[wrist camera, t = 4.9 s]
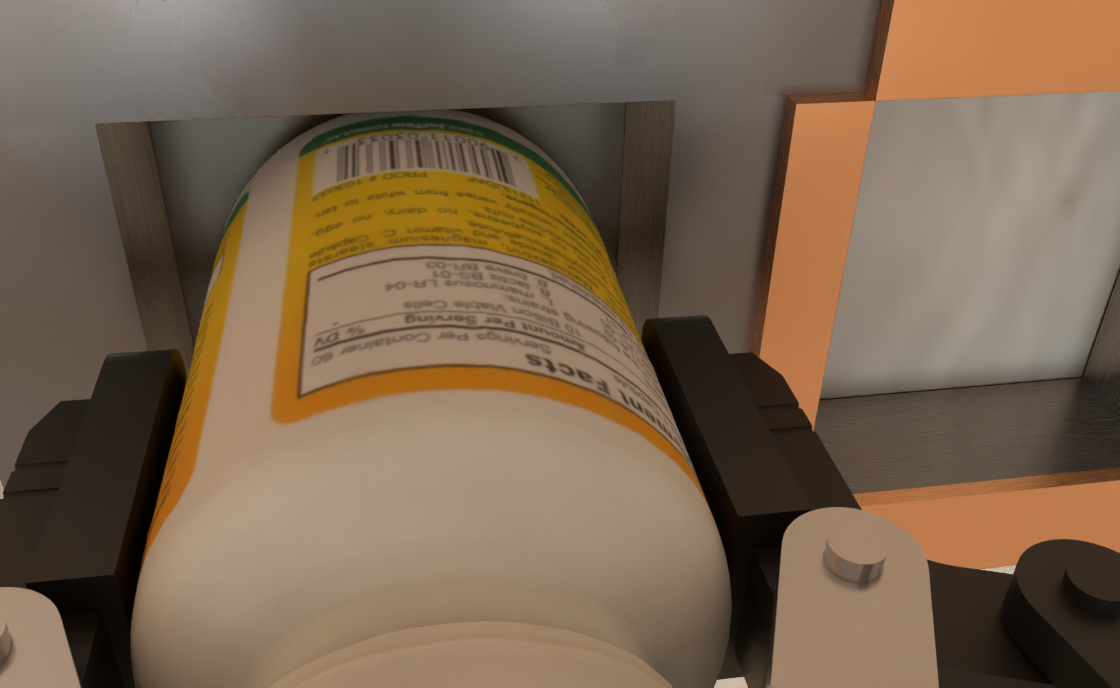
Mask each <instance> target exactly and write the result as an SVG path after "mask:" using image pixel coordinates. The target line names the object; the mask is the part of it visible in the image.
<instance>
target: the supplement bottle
mask: <svg viewBox="0 0 1120 688" xmlns="http://www.w3.org/2000/svg"><path fill="white" fill-rule="evenodd" d="M731 612H732V600H731V586H730V576H729V570H728V565H727V560H726V555H725V551H724V548H723V545H722V541H721V538H720V534H719V531H718V528H717V525H716V523H715V520H714V518H713V515H712V513H711V510H710V508H709V505H708V502H707V500H706V498H705V495H704V493H703V490H702V488H701V485H700V483H699V480H698V478H697V475H696V473H695V470H694V468H693V465H692V463H691V460H690V458H689V455H688V453H687V450H686V447H685V445H684V442H683V439H682V437H681V435H680V433H679V430H678V428H677V426H676V423H675V420H674V418H673V415H672V413H671V410H670V408H669V406H668V403H667V401H666V398H665V396H664V393H663V391H662V389H661V386H660V384H659V381H658V378H657V376H656V373H655V371H654V368H653V366H652V364H651V362H650V360H649V358H648V356H647V354H646V351H645V349H644V346H643V344H642V341H641V339H640V336H639V333H638V331H637V328H636V325H635V323H634V321H633V318H632V316H631V313H630V310H629V308H628V305H627V303H626V300H625V298H624V295H623V293H622V291H621V288H620V286H619V283H618V280H617V277H616V275H615V272H614V270H613V267H612V265H611V263H610V260H609V257H608V254H607V251H606V249H605V246H604V243H603V240H602V238H601V235H600V233H599V231H598V228H597V226H596V224H595V222H594V220H593V218H592V216H591V213H590V211H589V209H588V207H587V206H586V204H585V202H584V200H583V198H582V196H581V195H580V193H579V192H578V190H577V188H576V187H575V185H574V184H573V183H572V181H571V180H570V179H569V178H568V176H567V175H566V174H565V173H564V172H563V171H562V169H561V168H560V167H559V166H558V165H557V164H556V163H555V162H554V161H553V160H552V159H551V158H550V157H549V156H548V155H547V154H546V153H545V152H543V151H542V150H541V149H540V148H539V147H537V146H536V145H535V144H534V143H532V142H531V141H529V140H528V139H526V138H525V137H523V136H522V135H520V134H518V133H516V132H515V131H513V130H511V129H509V128H507V127H505V126H503V125H501V124H498V123H496V122H494V121H492V120H490V119H488V118H485V117H482V116H478V115H475V114H472V113H469V112H466V111H462V110H457V109H444V110H419V111H394V112H369V113H347V114H344V115H341V116H339V117H336V118H334V119H331V120H329V121H326V122H324V123H322V124H320V125H317V126H315V127H313V128H312V129H310V130H308V131H306V132H304V133H303V134H301V135H299V136H297V137H296V138H294V139H293V140H292V141H290V142H289V143H287V144H286V145H285V146H283V147H282V148H280V149H279V150H278V151H277V152H276V153H275V154H274V155H272V156H271V157H270V158H269V159H268V160H267V161H266V162H265V163H264V164H263V165H262V166H261V167H260V168H259V169H258V171H257V172H256V173H255V174H254V176H253V177H252V178H251V179H250V181H249V182H248V183H247V185H246V186H245V187H244V189H243V190H242V192H241V193H240V195H239V196H238V198H237V200H236V202H235V204H234V206H233V208H232V210H231V212H230V214H229V217H228V219H227V222H226V225H225V227H224V230H223V233H222V237H221V241H220V244H219V247H218V250H217V253H216V257H215V261H214V266H213V271H212V275H211V280H210V284H209V288H208V291H207V295H206V299H205V303H204V308H203V312H202V317H201V322H200V326H199V331H198V335H197V339H196V343H195V348H194V352H193V357H192V361H191V365H190V369H189V373H188V378H187V382H186V386H185V390H184V394H183V398H182V401H181V405H180V409H179V413H178V416H177V421H176V427H175V432H174V436H173V439H172V443H171V447H170V451H169V455H168V459H167V463H166V467H165V471H164V475H163V479H162V483H161V487H160V491H159V494H158V498H157V503H156V507H155V511H154V515H153V518H152V522H151V524H150V527H149V530H148V533H147V541H146V544H145V548H144V552H143V556H142V562H141V569H140V573H139V578H138V584H137V589H136V595H135V601H134V607H133V614H132V622H131V633H130V635H131V662H132V671H133V678H134V682H135V687H136V688H714V685H715V683H716V680H717V678H718V676H719V673H720V671H721V668H722V665H723V661H724V657H725V653H726V649H727V645H728V641H729V633H730V622H731Z"/></svg>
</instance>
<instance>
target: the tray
mask: <svg viewBox="0 0 1120 688" xmlns="http://www.w3.org/2000/svg"><path fill="white" fill-rule="evenodd" d="M1103 91H1120V0H0V479H1V482H2V485H3V488H4V489H5V486H6V484H7V481H8V479H9V477H10V474H11V472H12V471H15V462H16V460H17V458H18V455H19V453H20V450H21V448H22V446H23V443H24V441H25V439H26V436H27V434H28V431H30V430H31V429H32V428H33V427H34V426H35V425H36V424H37V423H38V422H39V421H40V420H41V419H42V418H43V417H44V416H45V415H46V414H47V413H49V412H50V411H51V410H52V409H53V408H54V407H55V406H56V405H57V404H58V403H59V402H60V401H69V400H83V399H91V396H92V393H93V390H94V388H95V385H96V382H97V379H98V376H99V373H100V371H101V368H102V365H103V362H104V360H105V358H106V356H107V355H108V354H111V353H126V352H141V351H156V350H171V349H177V350H178V351H179V352H180V354H181V356H182V359H183V362H184V366H185V370H186V375H187V378H188V373H189V369H190V365H191V361H192V357H193V352H194V346H193V341H192V336H191V331H190V326H189V321H188V317H187V312H186V307H185V302H184V297H183V292H182V287H181V282H180V277H179V272H178V267H177V263H176V258H175V253H174V248H173V243H172V238H171V233H170V228H169V223H168V218H167V213H166V209H165V204H164V199H163V194H162V189H161V184H160V179H159V174H158V169H157V164H156V159H155V154H154V150H153V145H152V140H151V135H150V130H149V125H148V121H170V120H195V119H220V118H245V117H270V116H295V115H319V114H344V113H369V112H394V111H419V110H444V109H469V108H493V107H518V106H543V105H568V104H593V103H618V102H626V120H625V139H624V157H623V175H622V193H621V211H620V229H619V248H618V266H617V280H618V283H619V286H620V288H621V291H622V293H623V295H624V298H625V300H626V303H627V305H628V308H629V310H630V313H631V316H632V318H633V321H634V323H635V325H636V328H637V331H638V333H639V336H640V339H641V336H642V329H643V325H644V323H645V321H646V320H647V319H653V318H668V317H683V316H698V315H706V316H708V317H709V318H710V320H711V321H712V323H713V325H714V327H715V329H716V331H717V332H718V334H719V336H720V338H721V340H722V342H723V344H724V346H725V347H726V349H727V351H728V353H729V354H734V353H748V352H752V353H754V354H755V355H756V356H758V357H759V358H760V359H762V360H763V361H764V362H766V363H767V364H768V365H770V366H771V367H772V368H774V369H775V370H776V371H778V372H779V373H780V374H782V375H783V377H784V379H785V380H786V382H787V384H788V385H789V387H790V389H791V390H792V392H793V394H794V396H795V397H796V399H797V401H798V402H799V409H803V411H804V412H805V414H806V416H807V418H808V419H809V421H810V423H811V424H812V430H813V432H816V433H817V435H818V436H819V438H820V440H821V441H822V443H823V445H824V446H825V448H826V450H827V452H828V453H829V455H830V457H831V458H832V460H833V462H834V463H835V465H836V467H837V469H838V470H839V472H840V474H841V475H842V477H843V479H844V480H845V482H846V484H847V485H848V487H849V489H850V491H851V492H852V494H853V496H854V497H855V499H856V501H857V502H858V504H859V506H860V508H861V509H862V510H863V511H867V512H870V513H873V514H876V515H879V516H881V517H883V518H885V519H887V520H889V521H891V522H893V523H894V524H896V525H898V526H899V527H901V528H902V529H903V530H905V531H906V532H907V533H908V534H909V535H910V536H911V537H912V538H913V539H914V540H915V541H916V542H917V543H918V545H919V546H920V547H921V549H922V550H923V552H924V554H925V557H926V559H928V560H931V561H934V562H938V563H942V564H947V565H952V566H958V567H965V568H972V569H986V568H995V567H1003V566H1012V565H1017V562H1018V560H1019V558H1020V556H1021V555H1022V554H1023V553H1024V551H1025V550H1027V549H1028V548H1030V547H1031V546H1032V545H1035V544H1037V543H1040V542H1043V541H1048V540H1054V539H1072V540H1080V541H1086V542H1090V543H1094V544H1097V545H1101V546H1104V547H1106V548H1109V549H1112V550H1114V551H1116V552H1118V553H1120V273H1119V275H1118V278H1117V281H1116V284H1115V287H1114V290H1113V292H1112V295H1111V298H1110V301H1109V304H1108V307H1107V310H1106V312H1105V315H1104V318H1103V321H1102V324H1101V327H1100V329H1099V332H1098V335H1097V338H1096V341H1095V344H1094V347H1093V349H1092V352H1091V355H1090V358H1089V361H1088V364H1087V366H1086V369H1085V372H1084V375H1083V378H1075V379H1063V380H1051V381H1040V382H1028V383H1016V384H1005V385H993V386H981V387H970V388H958V389H946V390H935V391H923V392H912V393H900V394H888V395H877V396H865V397H853V398H842V399H830V400H819V398H820V393H821V388H822V382H823V377H824V372H825V366H826V361H827V356H828V351H829V345H830V340H831V335H832V329H833V324H834V319H835V313H836V308H837V303H838V297H839V292H840V287H841V282H842V276H843V271H844V266H845V260H846V255H847V250H848V244H849V239H850V234H851V228H852V223H853V218H854V213H855V207H856V202H857V197H858V191H859V186H860V181H861V175H862V170H863V165H864V159H865V154H866V149H867V144H868V138H869V133H870V128H871V122H872V117H873V112H874V106H875V101H886V100H910V99H935V98H959V97H983V96H1007V95H1031V94H1055V93H1079V92H1103Z"/></svg>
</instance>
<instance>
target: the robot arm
mask: <svg viewBox="0 0 1120 688" xmlns="http://www.w3.org/2000/svg"><path fill="white" fill-rule="evenodd" d="M641 341H642V344H643V346H644V349H645V351H646V354H647V356H648V358H649V360H650V362H651V364H652V366H653V368H654V371H655V373H656V376H657V378H658V381H659V384H660V386H661V389H662V391H663V393H664V396H665V398H666V401H667V403H668V406H669V408H670V410H671V413H672V415H673V418H674V420H675V423H676V426H677V428H678V430H679V433H680V435H681V437H682V439H683V442H684V445H685V447H686V450H687V453H688V455H689V458H690V460H691V463H692V465H693V468H694V470H695V473H696V475H697V478H698V480H699V483H700V485H701V488H702V490H703V493H704V495H705V498H706V500H707V502H708V505H709V508H710V510H711V513H712V515H713V518H714V520H715V523H716V525H717V528H718V531H719V534H720V538H721V541H722V545H723V548H724V551H725V555H726V560H727V565H728V570H729V576H730V586H731V600H732V612H731V622H730V633H729V641H728V645H727V649H726V653H725V657H724V661H723V665H722V668H721V671H720V673H719V676H718V678H717V680H719V679H727V678H736V677H744V678H745V680H746V683H747V686H748V688H1120V553H1118V552H1116V551H1114V550H1112V549H1109V548H1106V547H1104V546H1101V545H1097V544H1094V543H1090V542H1086V541H1080V540H1072V539H1054V540H1048V541H1043V542H1040V543H1037V544H1035V545H1032V546H1031V547H1030V548H1028V549H1027V550H1025V551H1024V553H1023V554H1022V555H1021V556H1020V558H1019V560H1018V562H1017V565H1016V568H1015V570H1014V573H1013V574H1006V573H999V572H992V571H985V570H979V569H972V568H965V567H958V566H952V565H947V564H942V563H938V562H934V561H931V560H928V559H926V557H925V554H924V552H923V550H922V549H921V547H920V546H919V545H918V543H917V542H916V541H915V540H914V539H913V538H912V537H911V536H910V535H909V534H908V533H907V532H906V531H905V530H903V529H902V528H901V527H899V526H898V525H896V524H894V523H893V522H891V521H889V520H887V519H885V518H883V517H881V516H879V515H876V514H873V513H870V512H867V511H863V510H862V509H861V508H860V506H859V504H858V502H857V501H856V499H855V497H854V496H853V494H852V492H851V491H850V489H849V487H848V485H847V484H846V482H845V480H844V479H843V477H842V475H841V474H840V472H839V470H838V469H837V467H836V465H835V463H834V462H833V460H832V458H831V457H830V455H829V453H828V452H827V450H826V448H825V446H824V445H823V443H822V441H821V440H820V438H819V436H818V435H817V433H816V432H813V430H812V424H811V423H810V421H809V419H808V418H807V416H806V414H805V412H804V411H803V409H799V402H798V401H797V399H796V397H795V396H794V394H793V392H792V390H791V389H790V387H789V385H788V384H787V382H786V380H785V379H784V377H783V375H782V374H780V373H779V372H778V371H776V370H775V369H774V368H772V367H771V366H770V365H768V364H767V363H766V362H764V361H763V360H762V359H760V358H759V357H758V356H756V355H755V354H754V353H752V352H748V353H734V354H729V353H728V351H727V349H726V347H725V346H724V344H723V342H722V340H721V338H720V336H719V334H718V332H717V331H716V329H715V327H714V325H713V323H712V321H711V320H710V318H709V317H708V316H706V315H698V316H683V317H668V318H653V319H647V320H646V321H645V323H644V325H643V329H642V336H641ZM186 382H187V375H186V370H185V366H184V362H183V359H182V356H181V354H180V352H179V351H178V350H177V349H171V350H156V351H141V352H126V353H111V354H108V355H107V356H106V358H105V360H104V362H103V365H102V368H101V371H100V373H99V376H98V379H97V382H96V385H95V388H94V390H93V393H92V396H91V399H83V400H69V401H60V402H59V403H58V404H57V405H56V406H55V407H54V408H53V409H52V410H51V411H50V412H49V413H47V414H46V415H45V416H44V417H43V418H42V419H41V420H40V421H39V422H38V423H37V424H36V425H35V426H34V427H33V428H32V429H31V430H30V431H28V434H27V436H26V439H25V441H24V443H23V446H22V448H21V450H20V453H19V455H18V458H17V460H16V462H15V471H12V472H11V474H10V477H9V479H8V481H7V484H6V486H5V489H4V491H3V495H4V497H3V499H0V688H136V687H135V682H134V678H133V671H132V662H131V635H130V633H131V622H132V614H133V607H134V601H135V595H136V589H137V584H138V578H139V573H140V569H141V562H142V556H143V552H144V548H145V544H146V541H147V533H148V530H149V527H150V524H151V522H152V518H153V515H154V511H155V507H156V503H157V498H158V494H159V491H160V487H161V483H162V479H163V475H164V471H165V467H166V463H167V459H168V455H169V451H170V447H171V443H172V439H173V436H174V432H175V427H176V421H177V416H178V413H179V409H180V405H181V401H182V398H183V394H184V390H185V386H186Z"/></svg>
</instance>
